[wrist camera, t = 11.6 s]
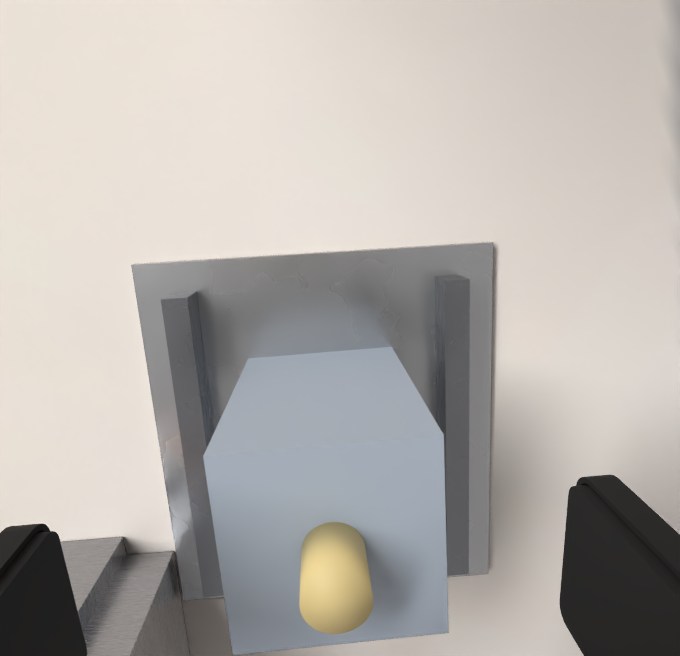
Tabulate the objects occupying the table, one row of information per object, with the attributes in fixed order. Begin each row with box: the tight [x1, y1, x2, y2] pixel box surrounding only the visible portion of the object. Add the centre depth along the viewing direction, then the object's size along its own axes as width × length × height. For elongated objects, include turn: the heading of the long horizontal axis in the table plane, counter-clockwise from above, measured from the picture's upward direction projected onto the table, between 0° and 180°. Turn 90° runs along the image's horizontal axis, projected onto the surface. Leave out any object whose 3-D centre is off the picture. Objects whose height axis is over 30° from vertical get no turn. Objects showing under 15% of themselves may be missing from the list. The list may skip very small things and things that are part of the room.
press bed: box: [131, 242, 493, 600], centre depth 17 cm, size 13×12×2 cm
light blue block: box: [203, 347, 449, 655], centre depth 13 cm, size 5×5×8 cm
